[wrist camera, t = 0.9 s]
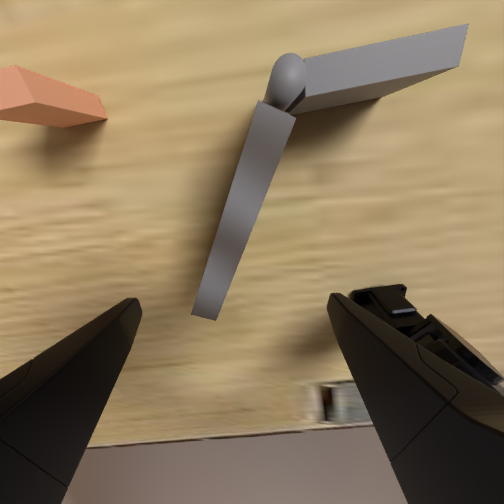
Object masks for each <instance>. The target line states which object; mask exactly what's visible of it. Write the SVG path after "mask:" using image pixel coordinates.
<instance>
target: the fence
mask: <svg viewBox="0 0 504 504" xmlns="http://www.w3.org/2000/svg"><path fill="white" fill-rule="evenodd" d="M468 25H469V23H468V24H464V25H459V26H454V27H450V28H445V29H440V30H436V31H431V32H426V33H422V34H417V35H412V36H408V37H403V38H398V39H394V40H389V41H384V42H380V43H375V44H370V45H366V46H361V47H356V48H351V49H347V50H342V51H337V52H333V53H328V54H323V55H319V56H314V57H309V58H305V59H304V60H303V59H302V58H301V57H300V56H298V55H297V54H294V53H287V54H284V55H282V56H281V57H280V58H279V59H278V60H277V61H276V62H275V64H274V66H273V69H272V72H271V76H270V79H269V83H268V87H267V90H266V94H265V97H264V101H263V103H264V102H266V103H268V104H270V105H272V106H274V107H276V108H279V109H281V110H283V111H285V112H287V113H289V114H290V115H295V114H300V113H305V112H310V111H315V110H320V109H325V108H330V107H335V106H340V105H345V104H350V103H356V102H361V101H366V100H371V99H376V98H381V97H384V96H386V95H389V94H391V93H394V92H396V91H399V90H401V89H404V88H406V87H408V86H411V85H413V84H416V83H418V82H421V81H423V80H426V79H428V78H431V77H433V76H436V75H438V74H440V73H443V72H445V71H448V70H450V69H453V68H455V67H458V66H459V64H460V59H461V55H462V51H463V46H464V42H465V38H466V34H467V29H468ZM104 119H108V118H107V116H106V113H105V111H104V109H103V106H102V104H101V101H100V99H99V97H98V95H95V94H92V93H90V92H87V91H84V90H81V89H79V88H76V87H73V86H70V85H68V84H65V83H62V82H60V81H57V80H54V79H51V78H49V77H46V76H43V75H41V74H38V73H35V72H32V71H30V70H27V69H24V68H21V67H19V66H16V65H15V66H11V67H7V68H2V69H0V120H7V121H14V122H22V123H30V124H38V125H46V126H54V127H62V128H66V127H70V126H75V125H80V124H85V123H90V122H94V121H99V120H104Z"/></svg>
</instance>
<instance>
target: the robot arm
mask: <svg viewBox="0 0 504 504" xmlns="http://www.w3.org/2000/svg"><path fill="white" fill-rule="evenodd" d="M406 290H407V287H406V286H405V285H403V284H400V285H392V286H385V287H378V288H370V289H363V290H356V291H354V292H353V293H352V300H350V299H348V298H347V297H345V296H344V295H342V294H341V293H331V294H330V296H329V300H328V304H327V311H328V314H329V317H330V321H331V324H332V327H333V330H334V333H335V336H336V339H337V342H338V344H339V347H340V349H341V351H342V353H343V356H344V358H345V360H346V363H347V365H348V367H349V369H350V372H351V374H352V376H353V379H354V381H355V383H356V385H357V388H358V390H359V392H360V395H361V397H362V399H363V401H364V404H365V406H366V408H367V411H368V413H369V415H370V417H371V420H372V422H373V424H374V427H375V429H376V431H377V433H378V436H379V438H380V440H381V442H382V445H383V447H384V449H385V452H386V454H387V456H388V459H389V461H390V462H391V466H392V468H393V470H394V473H395V475H396V477H397V480H398V482H399V484H400V486H401V489H402V491H403V493H404V496H405V498H406V500H407V502H408V504H504V388H503V387H502V386H501V385H500V384H499V383H501V382H503V381H504V377H503V376H502V375H501V374H500V373H499V372H498V371H497V370H496V369H495V368H494V367H493V366H492V365H491V363H490V362H489V361H488V360H487V359H486V358H485V357H484V356H483V355H482V354H481V353H480V352H479V351H478V350H476V349H475V348H474V347H473V346H472V345H471V344H469V343H468V342H467V341H466V340H465V339H463V338H462V337H461V336H460V335H459V334H458V333H456V332H455V331H454V330H452V329H451V328H450V327H448V326H447V325H446V324H444V323H443V322H442V321H440V320H439V319H438V318H436V317H435V316H433V315H432V314H430V315H428V316H427V318H426V319H424V318H423V317H422V316H421V315H420V314H419V313H418V312H417V311H416V310H417V309H416V308H415V307H414V306H413V305H412V304H411V303H410V302H409V301H408V300H407V299H406V298H405V294H406ZM356 294H357V295H356ZM141 317H142V309H141V306H140V303H139V300H138V299H137V298H126V299H125V300H123V301H122V302H120V303H118V304H117V305H115V306H114V307H112V308H111V309H109V310H108V311H106V312H104V313H103V314H101V315H100V316H98V317H97V318H95V319H94V320H92V321H90V322H89V323H87V324H86V325H84V326H83V327H81V328H80V329H78V330H76V331H75V332H73V333H72V334H70V335H69V336H67V337H66V338H64V339H62V340H61V341H59V342H58V343H56V344H55V345H53V346H52V347H50V348H48V349H47V350H45V351H44V352H42V353H41V354H39V355H38V356H36V357H35V358H34V359H31V360H30V361H28V362H27V363H25V364H24V365H22V366H20V367H19V368H17V369H16V370H14V371H12V372H11V373H9V374H8V375H6V376H5V377H3V378H1V379H0V504H61V503H62V501H63V498H64V496H65V494H66V492H67V490H68V488H67V487H68V486H69V485H70V483H71V480H72V478H73V476H74V474H75V471H76V469H77V467H78V465H79V462H80V460H81V458H82V456H83V454H84V452H85V449H86V447H87V445H88V443H89V440H90V438H91V436H92V434H93V432H94V429H95V427H96V425H97V423H98V421H99V418H100V416H101V414H102V412H103V410H104V407H105V405H106V403H107V401H108V398H109V396H110V394H111V392H112V390H113V387H114V385H115V383H116V381H117V379H118V376H119V374H120V372H121V370H122V368H123V365H124V363H125V361H126V359H127V356H128V354H129V352H130V350H131V347H132V344H133V341H134V338H135V335H136V332H137V329H138V326H139V323H140V320H141Z"/></svg>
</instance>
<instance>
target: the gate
mask: <svg viewBox="0 0 504 504" xmlns="http://www.w3.org/2000/svg"><path fill="white" fill-rule="evenodd" d="M295 120H296V118H295V117H293V116H291V115H290V114H289V113H287V112H285V111H283V110H281V109H279V108H276V107H274V106H272V105H270V104H268V103H266V102H264V103H263V102H261V101H259V100H258V103H257V106H256V109H255V112H254V115H253V119H252V122H251V125H250V128H249V131H248V135H247V138H246V141H245V144H244V147H243V150H242V154H241V157H240V160H239V163H238V166H237V170H236V173H235V176H234V179H233V182H232V185H231V189H230V192H229V195H228V198H227V201H226V205H225V208H224V211H223V214H222V217H221V221H220V224H219V227H218V230H217V233H216V236H215V240H214V243H213V246H212V249H211V252H210V256H209V259H208V262H207V265H206V268H205V271H204V275H203V278H202V281H201V284H200V287H199V291H198V294H197V297H196V300H195V303H194V306H193V310H192V313H191V314H192V315H195V316H199V317H203V318H207V319H211V320H215V321H216V319H217V317H218V314H219V312H220V309H221V307H222V304H223V302H224V299H225V297H226V294H227V292H228V289H229V287H230V284H231V281H232V279H233V276H234V274H235V271H236V269H237V266H238V264H239V261H240V259H241V256H242V254H243V251H244V249H245V246H246V244H247V241H248V239H249V236H250V234H251V231H252V229H253V226H254V224H255V221H256V218H257V216H258V213H259V211H260V208H261V206H262V203H263V201H264V198H265V196H266V193H267V191H268V188H269V186H270V183H271V181H272V178H273V176H274V173H275V171H276V168H277V166H278V163H279V160H280V158H281V155H282V153H283V150H284V148H285V145H286V143H287V140H288V138H289V135H290V133H291V130H292V128H293V125H294V123H295Z"/></svg>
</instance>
